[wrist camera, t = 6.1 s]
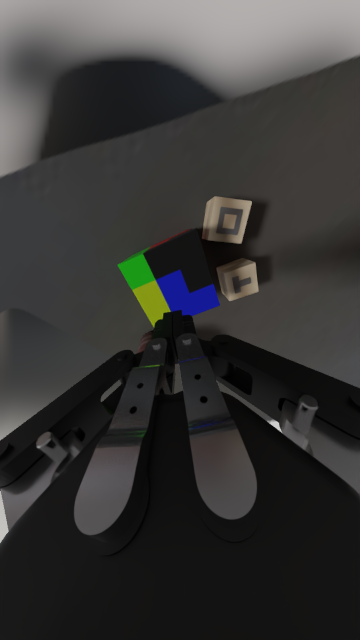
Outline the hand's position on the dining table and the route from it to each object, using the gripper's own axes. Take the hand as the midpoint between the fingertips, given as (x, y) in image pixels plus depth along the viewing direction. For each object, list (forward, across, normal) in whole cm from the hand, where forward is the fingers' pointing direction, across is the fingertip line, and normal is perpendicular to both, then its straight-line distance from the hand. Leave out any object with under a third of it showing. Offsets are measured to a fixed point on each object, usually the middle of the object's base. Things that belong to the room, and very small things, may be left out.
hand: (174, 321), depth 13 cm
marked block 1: (+19, -9, -6) cm, 22 cm away
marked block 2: (+19, -11, +3) cm, 22 cm away
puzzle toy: (+19, 0, 0) cm, 19 cm away
